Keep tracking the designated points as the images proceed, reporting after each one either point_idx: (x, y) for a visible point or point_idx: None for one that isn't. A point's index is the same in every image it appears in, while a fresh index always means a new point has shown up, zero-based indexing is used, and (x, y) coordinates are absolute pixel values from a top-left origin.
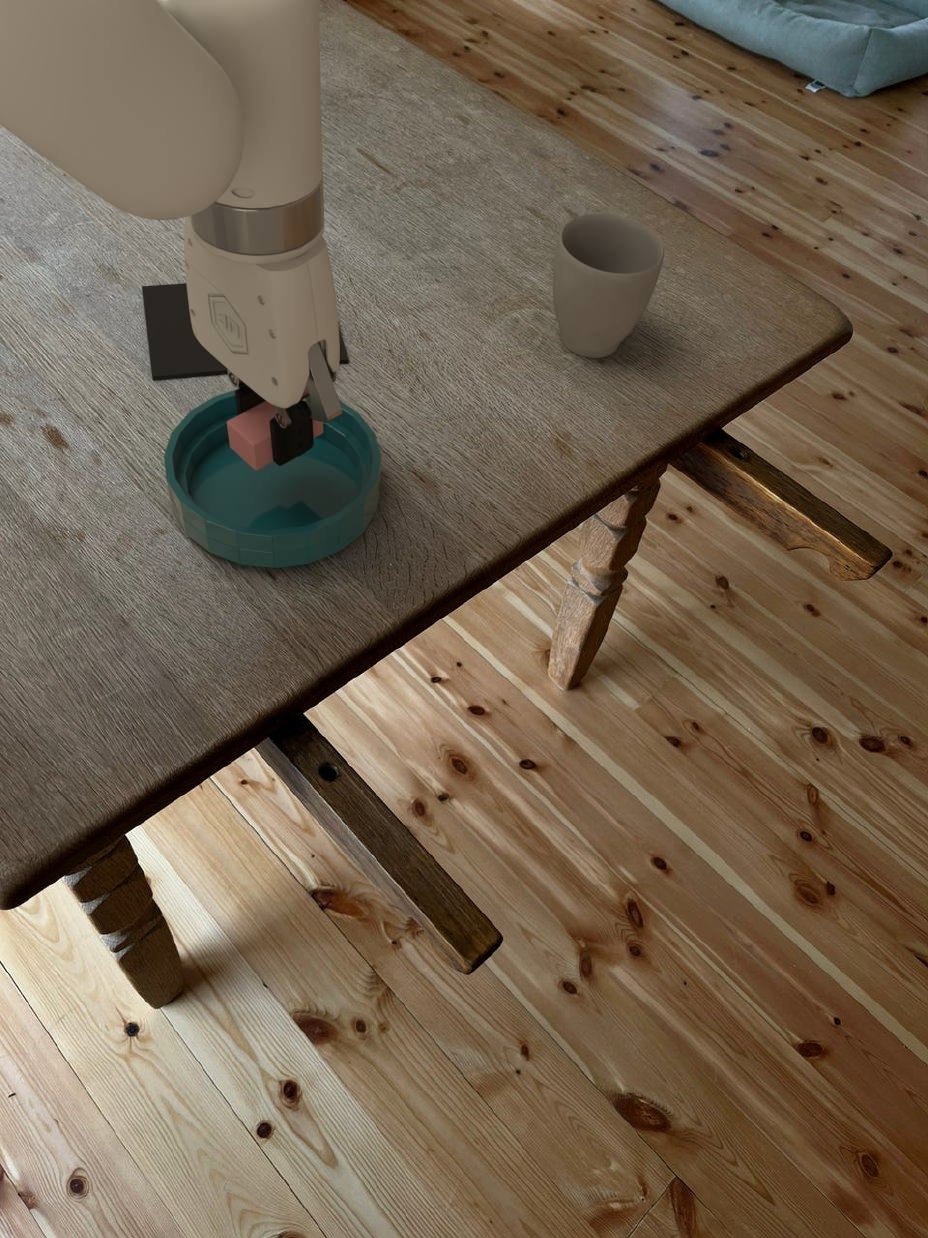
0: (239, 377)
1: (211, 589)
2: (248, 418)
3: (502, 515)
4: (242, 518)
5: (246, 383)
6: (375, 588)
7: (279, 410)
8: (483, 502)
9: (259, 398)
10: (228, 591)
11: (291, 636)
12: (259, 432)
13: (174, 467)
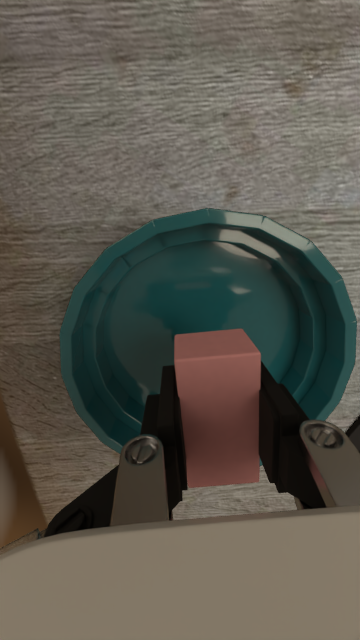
0: (238, 527)
1: (115, 198)
2: (240, 387)
3: (62, 480)
4: (184, 287)
5: (187, 532)
6: (32, 349)
7: (139, 475)
8: (84, 476)
9: (262, 430)
10: (102, 214)
11: (7, 240)
12: (196, 385)
13: (285, 246)
